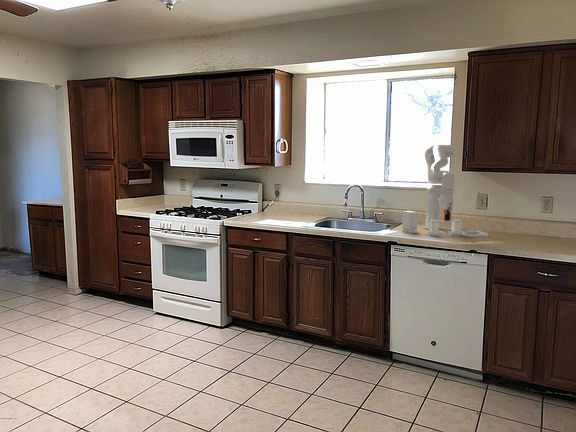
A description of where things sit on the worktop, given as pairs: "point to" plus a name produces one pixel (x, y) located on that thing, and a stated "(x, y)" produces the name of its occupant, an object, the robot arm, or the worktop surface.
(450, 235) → the fuse board
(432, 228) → the left fuse
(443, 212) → the marked fuse
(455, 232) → the right fuse
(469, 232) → the tray
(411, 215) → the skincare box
